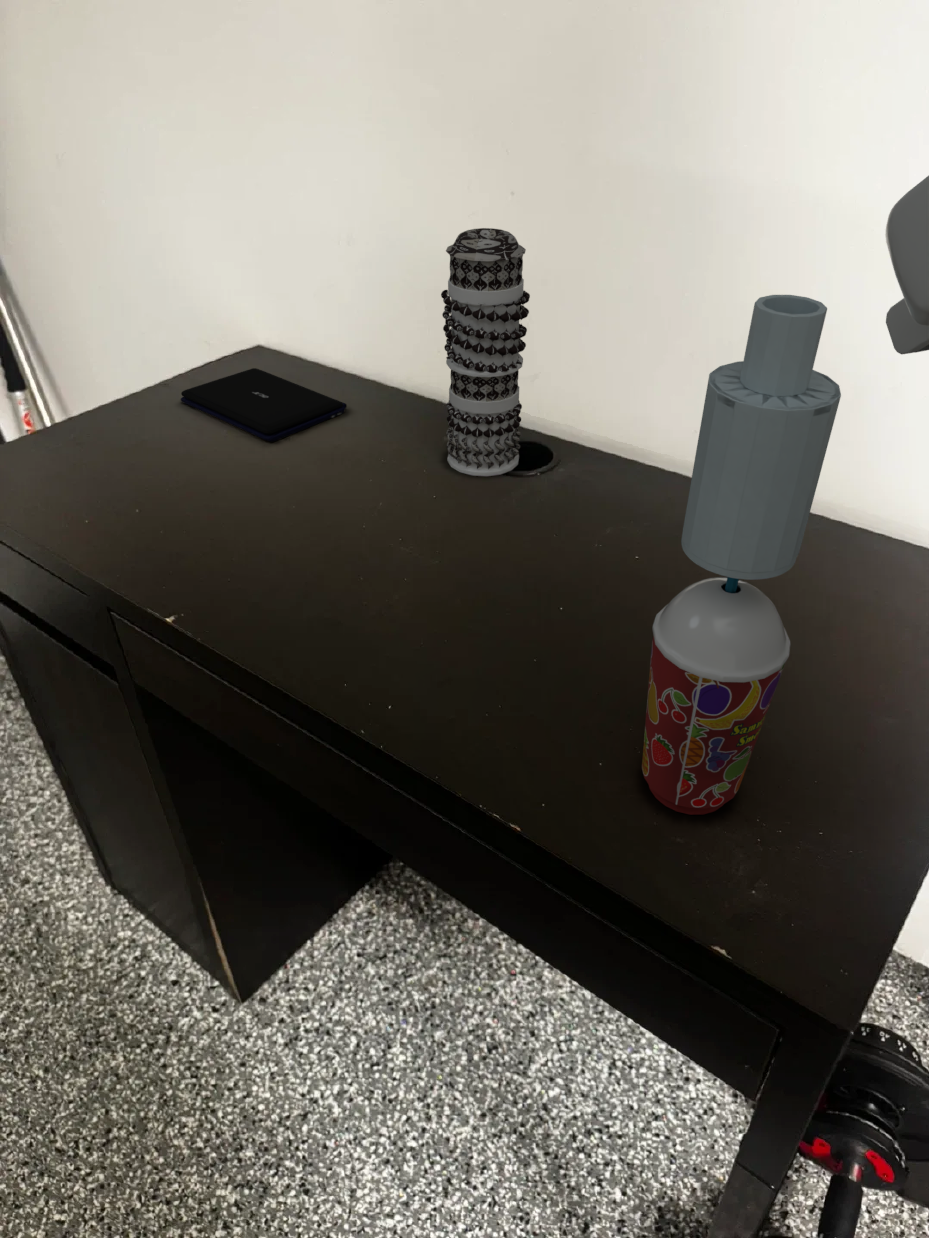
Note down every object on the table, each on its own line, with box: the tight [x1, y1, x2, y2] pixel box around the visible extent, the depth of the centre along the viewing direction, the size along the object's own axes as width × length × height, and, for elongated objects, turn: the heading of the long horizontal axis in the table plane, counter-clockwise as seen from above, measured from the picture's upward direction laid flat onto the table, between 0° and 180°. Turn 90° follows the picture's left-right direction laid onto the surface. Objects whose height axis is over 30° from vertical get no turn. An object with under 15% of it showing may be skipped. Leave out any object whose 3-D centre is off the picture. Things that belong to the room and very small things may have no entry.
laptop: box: [180, 367, 347, 443], centre depth 116 cm, size 16×20×2 cm
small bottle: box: [680, 294, 842, 581], centre depth 48 cm, size 6×6×14 cm
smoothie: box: [641, 576, 792, 816], centre depth 58 cm, size 8×8×20 cm
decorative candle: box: [440, 227, 531, 477], centre depth 97 cm, size 9×9×25 cm
